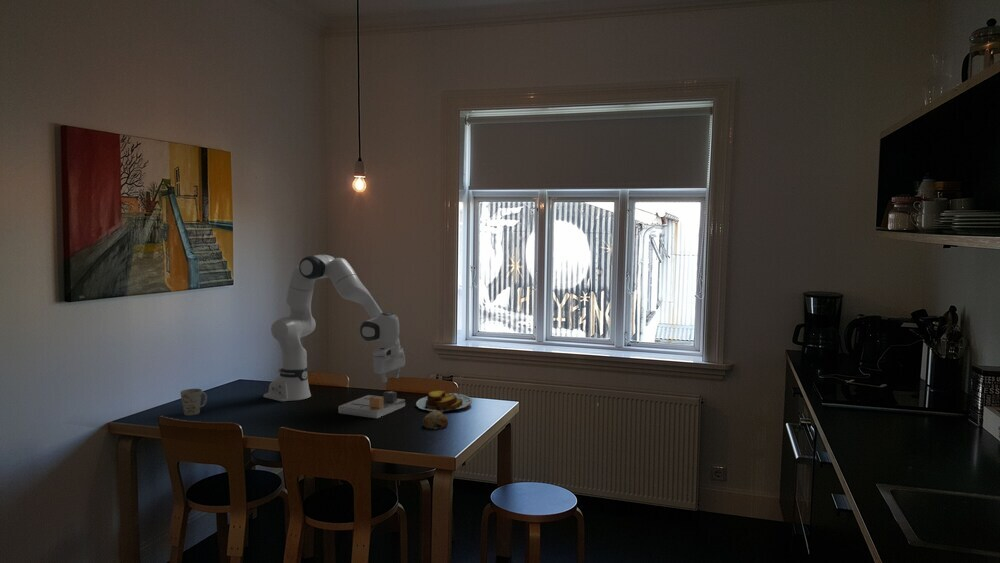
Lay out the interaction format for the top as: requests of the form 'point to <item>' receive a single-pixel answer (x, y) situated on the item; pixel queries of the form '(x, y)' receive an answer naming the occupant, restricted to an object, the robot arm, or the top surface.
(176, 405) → the top surface
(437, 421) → the bread roll
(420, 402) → the food on plate
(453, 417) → the top surface
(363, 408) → the mixing panel
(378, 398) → the orange fader
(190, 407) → the mug
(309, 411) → the top surface
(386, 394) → the black fader
